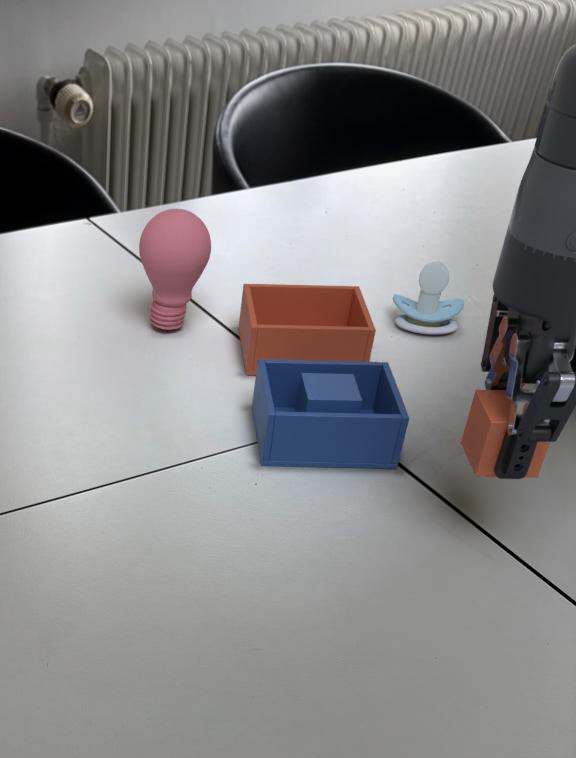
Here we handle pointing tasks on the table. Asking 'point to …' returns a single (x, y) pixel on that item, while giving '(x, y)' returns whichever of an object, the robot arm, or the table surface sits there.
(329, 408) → the blue block
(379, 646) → the table surface
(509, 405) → the terracotta block
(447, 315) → the pacifier
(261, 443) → the blue bin
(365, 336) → the terracotta bin
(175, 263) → the light bulb
